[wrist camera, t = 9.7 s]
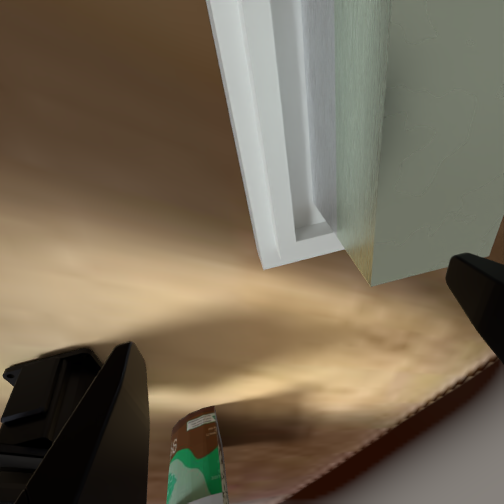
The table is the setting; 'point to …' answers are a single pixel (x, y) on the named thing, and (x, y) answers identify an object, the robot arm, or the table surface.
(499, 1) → the block
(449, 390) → the table surface
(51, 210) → the table surface
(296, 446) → the table surface
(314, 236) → the white rectangular tray
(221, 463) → the food container
